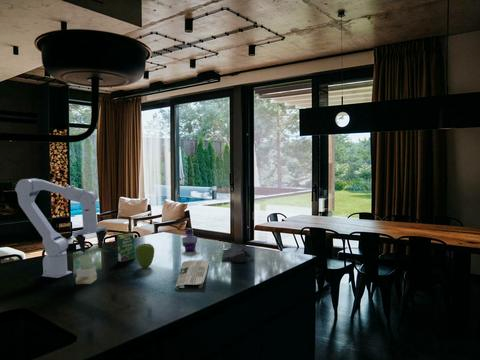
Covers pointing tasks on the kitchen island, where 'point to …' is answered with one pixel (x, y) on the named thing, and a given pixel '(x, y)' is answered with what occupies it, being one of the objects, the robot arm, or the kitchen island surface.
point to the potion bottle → (189, 241)
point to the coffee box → (125, 247)
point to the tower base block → (86, 279)
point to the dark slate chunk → (236, 255)
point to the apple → (144, 255)
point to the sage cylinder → (86, 261)
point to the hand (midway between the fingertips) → (91, 249)
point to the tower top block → (86, 272)
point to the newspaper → (192, 273)
